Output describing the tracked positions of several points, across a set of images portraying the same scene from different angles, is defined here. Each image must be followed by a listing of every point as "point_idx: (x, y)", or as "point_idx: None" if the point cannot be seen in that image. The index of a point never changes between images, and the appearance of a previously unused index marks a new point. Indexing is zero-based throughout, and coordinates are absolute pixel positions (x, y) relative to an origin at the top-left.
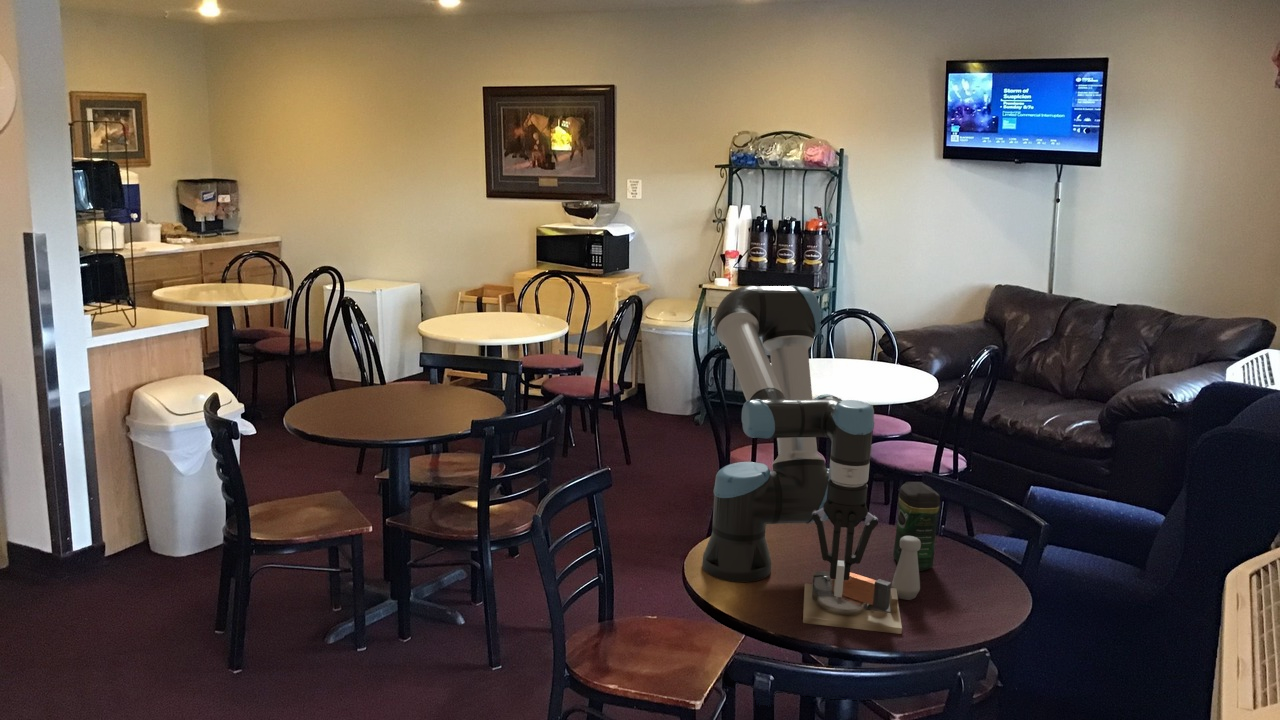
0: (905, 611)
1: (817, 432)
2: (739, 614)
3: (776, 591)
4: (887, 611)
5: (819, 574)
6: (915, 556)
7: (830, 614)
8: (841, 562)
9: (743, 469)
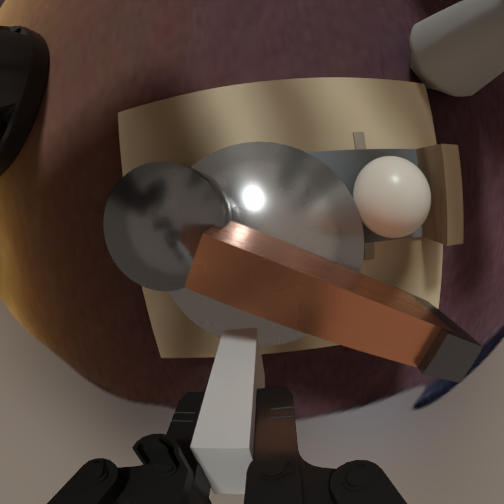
0: None
1: None
2: (44, 336)
3: (63, 175)
4: (413, 237)
5: (127, 224)
6: None
7: None
8: (232, 467)
9: None
